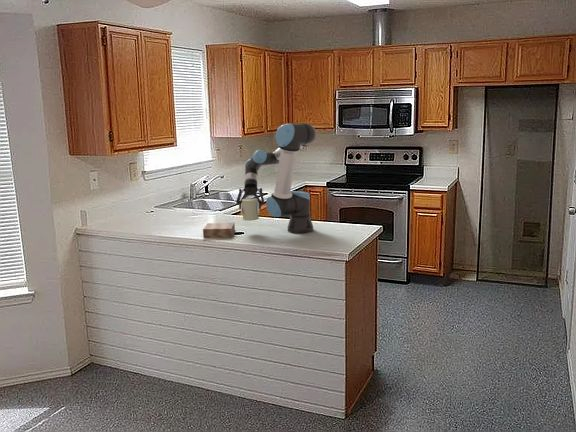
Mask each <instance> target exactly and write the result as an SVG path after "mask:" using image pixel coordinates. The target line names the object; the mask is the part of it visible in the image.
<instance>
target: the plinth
mask: <svg viewBox="0 0 576 432" xmlns="http://www.w3.org/2000/svg"><path fill="white" fill-rule="evenodd" d="M235 227H236V226H235V222H208V223H206V225H205V226H204V227H203V228H202V234H203V235H202V236H203V239H210V238H212V239H213V238H215V239H216V238H219V239H220V238H232V237H233V235H234V234H233V233H235V231H236V228H235Z"/></svg>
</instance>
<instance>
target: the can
mask: <svg viewBox="0 0 576 432" xmlns="http://www.w3.org/2000/svg"><path fill="white" fill-rule="evenodd" d="M241 199H242V198H241ZM257 206H258V199H256V198H255V197H253V198H252V197H250V198H249V197H248V198H247V197H246V199H242V207H243V215H242V221H247V222H248V221H250V222H251V221H256V220H259V219H260V217H259V214H258V213H257Z"/></svg>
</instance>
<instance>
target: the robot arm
mask: <svg viewBox="0 0 576 432" xmlns="http://www.w3.org/2000/svg"><path fill="white" fill-rule="evenodd" d="M316 137H317V131H316V129H315V128H314V126H313V125H311V124H310V123H306V122H302V123H301V122H300V123H298V122H297V123H291V122H290V123H285V124H284V123H283V124H282V125H280V126H279V127H278V128H277V130H276V132H275V142H276V144H277V145H278V148H277V149H275V150H274V151H269V152H268V151H267V152H266V151H265V150H262V149H257V150H256V151H255V152H254V153H253V154H252V156H251V158H249V159H247V160H246V161H245V165H244V169H245V170H244V188H243V189H242V188H239V189H238V196H237V198H236V201H235V203H236V205H238V208H239V210H240V215H241V216H243V207H242V199H247V197H248V196H250V197H251V196H253V198H256V199H258V206H257V213H258V215H259V214H260V210H261V209H262V204H265V206H266V207H265V208H266V210H267V212H268V214H269V215H270V216H272V217H273V218H278V217H279V218H280V217H284V216H289V220H288V224H287V232H289V233H292V234H306V233H312V232H313V231H314V224H313V222H312V219H311V204H310V202H311V197H310V193H308V192H306V191H302V190H300V191H299V190H298V191H296V190H291V188H292V183H293V176H294V171H295V165H296V159H297V158H296V157H297V153H298V152H300V151H301V149H302V148H305V147H309V146H310V145H312V144H313V143H315V140H316ZM273 165H278V168H277V174H276V182H275V189H273V190H272V191H271V196H269V197H267V198H266V200H265V199H264V195H263V188H262V187H260V188H258V172H259V170H260V169H261V167H262V166H273ZM257 192H258V193H259V195H258V194H257ZM243 193H244V194H243ZM242 194H243V196H242ZM259 196H260V198H259Z"/></svg>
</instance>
